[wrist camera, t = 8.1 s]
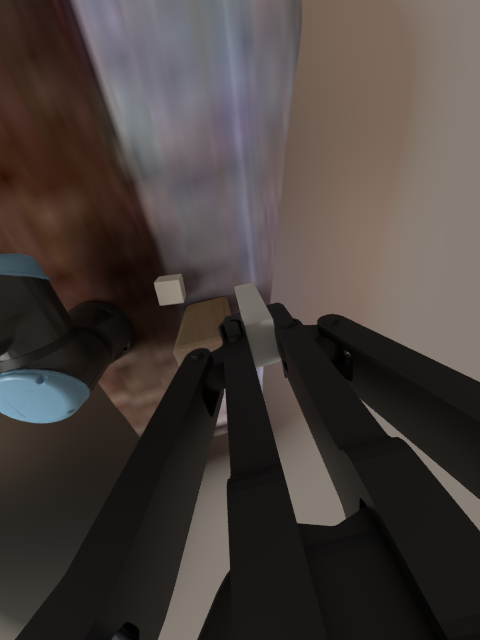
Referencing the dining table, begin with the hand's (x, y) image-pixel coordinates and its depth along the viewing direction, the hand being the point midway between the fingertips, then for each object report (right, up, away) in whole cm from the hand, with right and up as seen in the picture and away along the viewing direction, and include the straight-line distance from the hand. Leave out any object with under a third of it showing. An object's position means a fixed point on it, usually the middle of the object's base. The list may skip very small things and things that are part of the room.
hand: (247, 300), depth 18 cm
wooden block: (-8, -1, +38) cm, 39 cm away
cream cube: (-16, +6, +34) cm, 38 cm away
